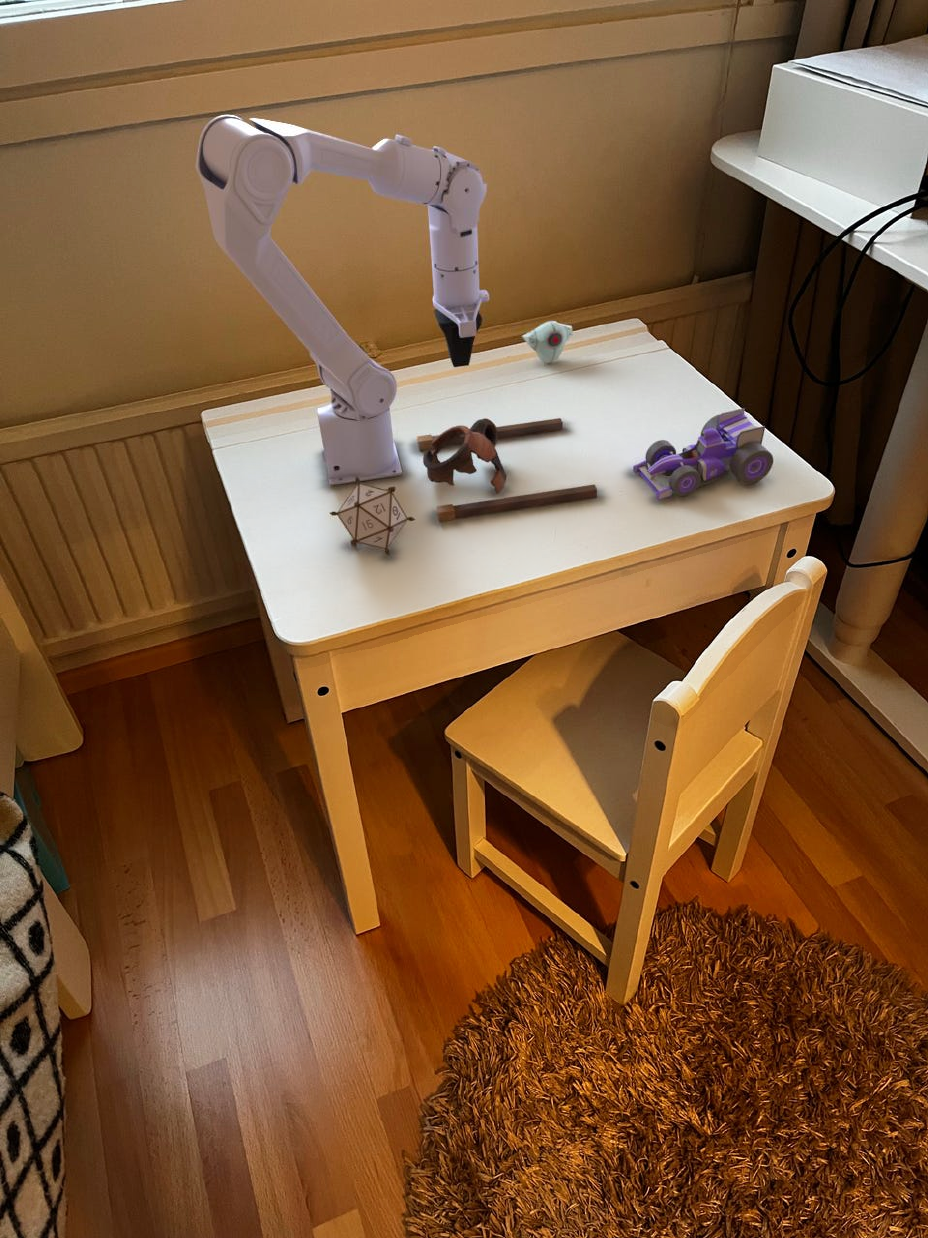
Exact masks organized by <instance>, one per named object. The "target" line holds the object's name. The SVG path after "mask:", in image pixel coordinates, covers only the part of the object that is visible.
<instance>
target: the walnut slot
mask: <svg viewBox="0 0 928 1238" xmlns="http://www.w3.org/2000/svg"><path fill="white" fill-rule="evenodd" d="M563 425H564V422H563V420H562V418H561V417H558V418H551V419H543V420H537V421H530V422H522V423H514V424H507V425H501V426H496V429H497V440H499V439H505V438H513V437H514V438H515V437H521V436H528V435H534V434H535V435H536V434H540V433H548V432H554V431H555V432H556V431H562V430H563ZM439 435H440V434H438V435H432V434H425V435H417V436H416V443H417V444H416V445H417V448H418V451H427V450H433V449H434V447H433V446H432V444H431V443H432V442H433V440H434V439H436V438H437V437H438V436H439ZM464 440H465V435H461V436H460V437H458V438H455V439H453V440H452V441H451V442H449V443H447V444H446V445H445V446H444V447H451V446H456V445H463V443H464ZM597 497H598V488H597V486H596V484H589V485H582V486H575V487H569V488H562V489H555V490H549V491H542V492H535V493H528V494H522V495H515V496H508V497H502V498H495V499H488V500H482V501H475V502H469V503H461V504H455V505H454V504H453V503H449V504H443V505H437V506H436V516H437V520H438V522H439V523H440V522H441V523H442V522H448V521H454V520H458V519H463V518H471V517H478V516H484V515H490V514H495V513H496V514H498V513H503V512H509V511H510V512H511V511H517V510H523V509H531V508H536V507H542V506H549V505H555V504H556V505H557V504H563V503H570V502H575V501H583V500H588V499H595V498H597Z"/></svg>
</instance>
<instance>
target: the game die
mask: <svg viewBox="0 0 928 1238" xmlns="http://www.w3.org/2000/svg"><path fill="white" fill-rule="evenodd" d="M359 479H360V478H358V477H356V478H355V480H356V482H355V483H357V484H356V486H355V487H353V490H352V491H351V493H350V494H349V495H348V497H347V498H346V499H345V501H344V502H343V503H342V505H341V507H340V508H339V510H338V511H331V512H329V515H331V516H332V517H333V516H337V517H338V519H339V521H340V523H342V525H343V526H344V528H345V529H346V530H347V532H348V534H349V535H350V536H351V538H352V539H351V540H350V545H351V548H353V547H356V546H357V544H360V545H366V546H370V547H373V548H377V549H382V550H384V553H385V555H387V556H390V553H391V552H390V549H389V546H391V544H392V542H394V540H395V539H396V537H397V535H398V534H399V533H400V531H401V530H402V529H403V527H404V526H405V524H406V523H407V522H408V521H409V522H413V521H415V520H416V519H415V517H413V516H407V514H406V512H405V511H404V509H403V508H402V506H401V503H400V502H399V501H398V499H397V497H396V496H395V494H394V493H395V491H396V486H389V487H388V488H387V489H385V488H383V487H382V488H381V487H378V486H374V485H371V484H366V483H363V482H361V481H360V480H359Z"/></svg>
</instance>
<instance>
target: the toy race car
mask: <svg viewBox="0 0 928 1238" xmlns="http://www.w3.org/2000/svg"><path fill="white" fill-rule="evenodd" d="M745 411H746V408H745V407H742V408H739V409H735V410H729V411H725V412H721V413H719V414H715V415H714V416H713V417H711V418H710V419H708V420H707V421H706V423H705V424H704V425H703V426H702V429H701V431H700V436H698V437H697V441H696V443H695V444H690V445H687V446H685V447H683V448H682V449H681V451H682V452H680V453H677V450H676V448H675V446H673V445H672V444H671V442H670V441H668V440H664V439H659V440H657V441H655V442H653V443H652V444H651V445H650V446H649V447H648V448H647V450H646V451H645V460H643V461H641V462H638V463H637V464H633V466H632V472H633V473H634V474H637V473H638V474H639V475H640V476H641V477H642V478H643V480H644V481H645V482H646V483H647V484H648V485H649V486H650V488H651V489H653V491H654V492H655V493H656V495H655V497H656V498H655V499H656V500H658V501H659V500H664V499H667V498H671V497H672V496H673V493H674V494H675V495H676V496H678V497H687V496H689V495H692V494H693V493H695V491H696V490H697V489H698V488H700V487H705V486H707V485H710V484H712V483H714V482H716V481H718V480H721V479H723V478H724V477H726V476H728V475H729V470H730V472H731V474H732V475H733V476H734V477H736V479H737V480H738V481H740V482H741V483H742V484H744V485H754V484H757V483H758V482H760V481H762V480H763V479H764V478H765V477H767V475H768V474H769V473H770V471H771V470H772V468H773V464H774V457H773V454H772V453H771V452H770V451H769V450H768V449H767V448H766V447H765V446H763V439H764V434H765V430H766V426H765V425H763V426H759V427H758V426H756V425H755V424H754V423H753V422H751V420H749V419H748V417H747V415H745ZM726 467H729V470H728V469H726ZM658 474H661V475H662V476H664V477H666V478H667V477H669V479H668V486H667V487H666V488H665V487H663V486H662V485H661V484H660V483H659V482H658V481H657V480H656V479H655V478H654V477H656V475H658ZM672 492H673V493H672Z"/></svg>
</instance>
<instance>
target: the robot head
mask: <svg viewBox="0 0 928 1238" xmlns="http://www.w3.org/2000/svg"><path fill="white" fill-rule="evenodd" d="M573 333H574V331H573V327H572V325H569V324H563V323H558V322H557V321H556V320H555V321H554V320H549V321H546V322H544V323H542V324H540V325H538V326H537V327H535V328H534V329H532V330H531V331H528V332H526V333H525V334H523V335H521V337H522V339H523V340H524V341H525V342H526V343H527V345H528V346H529V348H531V350H533V351H534V352H535V353H536V354H537V357H538V359H540V360H541V362H543V363H544V364H551V363H553V362H555V361H557V360H558V359H559V357H560V356H561V354H562V352H563V350H564V348H565V346H566V343H567V341H569V340H570V338H572V336H573V335H574V334H573Z"/></svg>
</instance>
